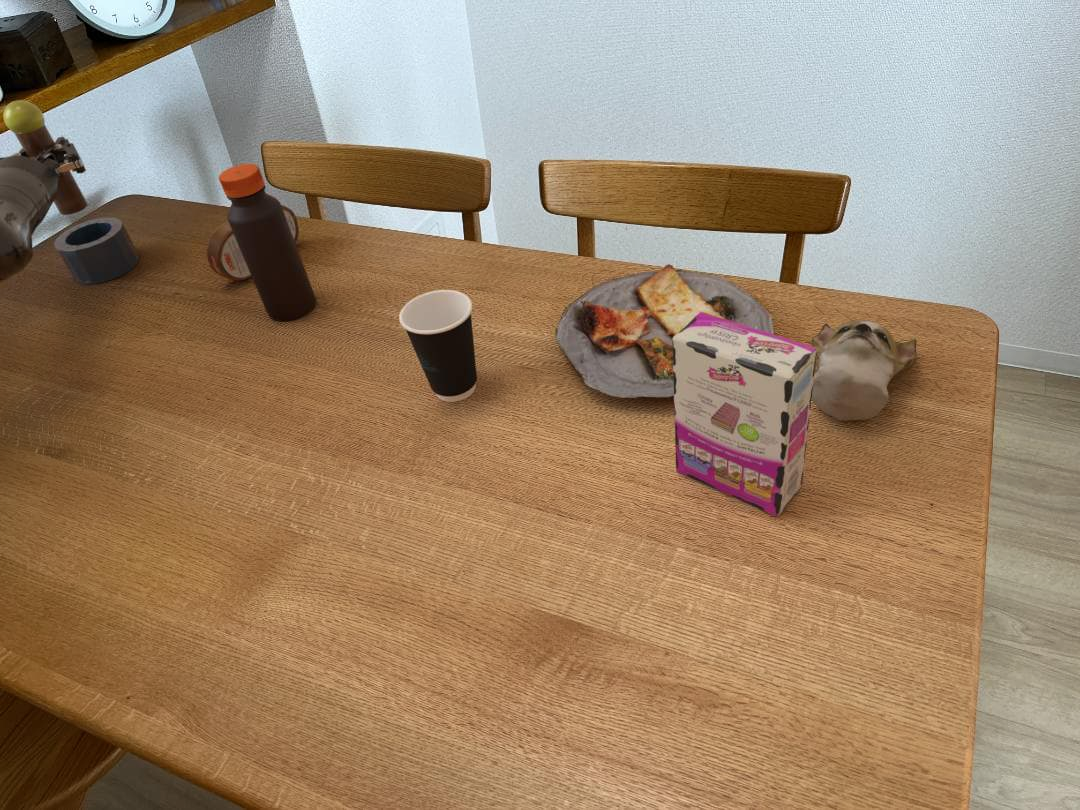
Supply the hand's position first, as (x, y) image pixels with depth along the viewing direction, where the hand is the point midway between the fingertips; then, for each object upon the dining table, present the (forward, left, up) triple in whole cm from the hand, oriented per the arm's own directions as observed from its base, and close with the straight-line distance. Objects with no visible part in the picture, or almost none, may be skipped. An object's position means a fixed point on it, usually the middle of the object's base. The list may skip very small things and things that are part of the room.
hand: (48, 147), depth 117 cm
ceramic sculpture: (+14, -112, -19) cm, 115 cm away
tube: (-1, -1, -19) cm, 19 cm away
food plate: (+14, -90, -19) cm, 93 cm away
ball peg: (-2, -2, -8) cm, 9 cm away
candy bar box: (-3, -106, -19) cm, 108 cm away
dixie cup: (-3, -72, -19) cm, 75 cm away
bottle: (+2, -40, -19) cm, 44 cm away
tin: (+9, -27, -19) cm, 34 cm away
